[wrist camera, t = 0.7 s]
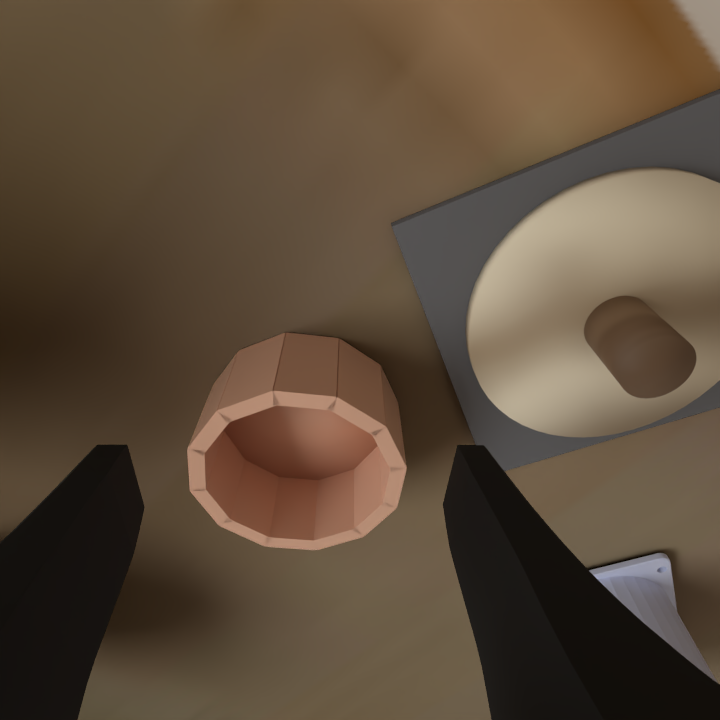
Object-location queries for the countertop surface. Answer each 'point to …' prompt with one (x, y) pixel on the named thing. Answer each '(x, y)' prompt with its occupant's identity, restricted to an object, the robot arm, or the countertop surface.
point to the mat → (498, 216)
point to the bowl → (299, 444)
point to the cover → (602, 305)
